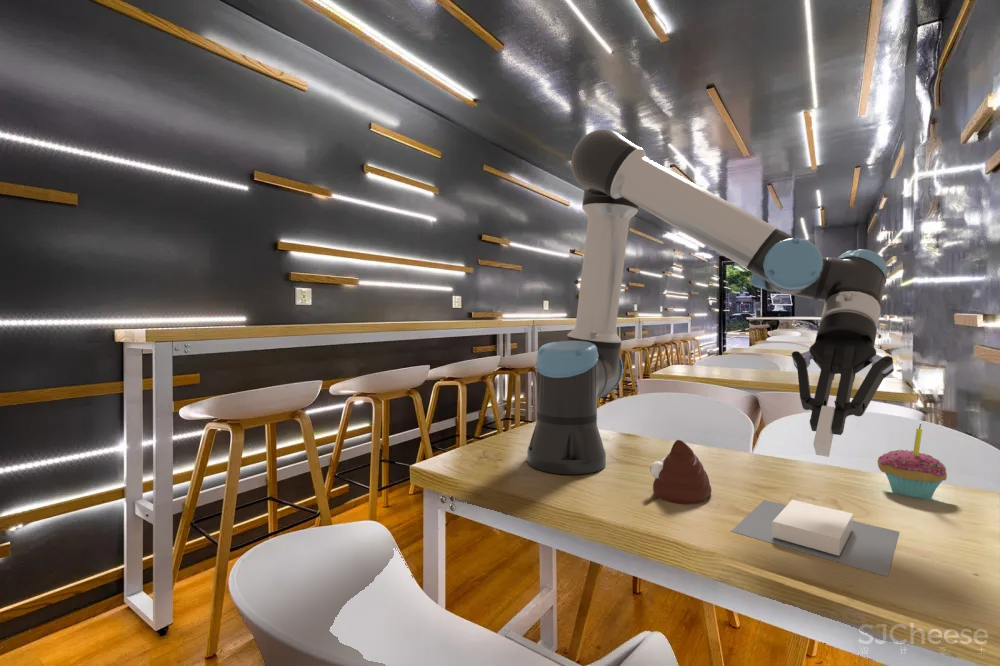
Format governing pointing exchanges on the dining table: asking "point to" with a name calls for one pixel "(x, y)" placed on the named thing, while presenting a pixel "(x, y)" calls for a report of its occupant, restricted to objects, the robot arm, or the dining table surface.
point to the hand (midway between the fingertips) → (821, 450)
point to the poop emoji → (680, 476)
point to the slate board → (861, 551)
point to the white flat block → (813, 526)
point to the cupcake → (912, 471)
